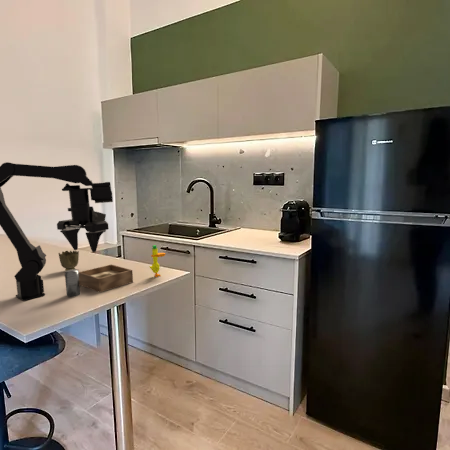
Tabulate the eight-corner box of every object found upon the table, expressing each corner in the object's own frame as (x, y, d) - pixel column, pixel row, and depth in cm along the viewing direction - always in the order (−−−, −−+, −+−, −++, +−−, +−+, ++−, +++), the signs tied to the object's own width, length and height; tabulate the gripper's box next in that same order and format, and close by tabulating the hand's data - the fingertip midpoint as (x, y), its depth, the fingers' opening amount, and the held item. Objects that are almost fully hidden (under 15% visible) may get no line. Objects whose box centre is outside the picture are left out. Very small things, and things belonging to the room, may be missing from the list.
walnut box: (99, 292, 108) (98, 279, 108) (79, 284, 117) (78, 272, 116) (132, 282, 119) (132, 270, 118) (112, 275, 127) (111, 264, 126)
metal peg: (70, 297, 104) (68, 273, 102) (64, 295, 106) (62, 271, 105) (82, 294, 107) (80, 270, 106) (76, 291, 109) (74, 268, 108)
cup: (72, 274, 129) (70, 254, 128) (55, 273, 131) (54, 253, 130) (84, 269, 137) (82, 250, 135) (68, 268, 138) (66, 249, 137)
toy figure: (164, 273, 129) (163, 243, 127) (167, 275, 126) (166, 245, 124) (147, 276, 126) (146, 245, 124) (150, 278, 123) (149, 247, 121)
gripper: (119, 202, 110) (123, 247, 112) (82, 201, 119) (86, 244, 121) (91, 205, 100) (96, 255, 102) (53, 204, 109) (58, 250, 112)
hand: (84, 250), depth 110 cm, fingers open, 9 cm apart
